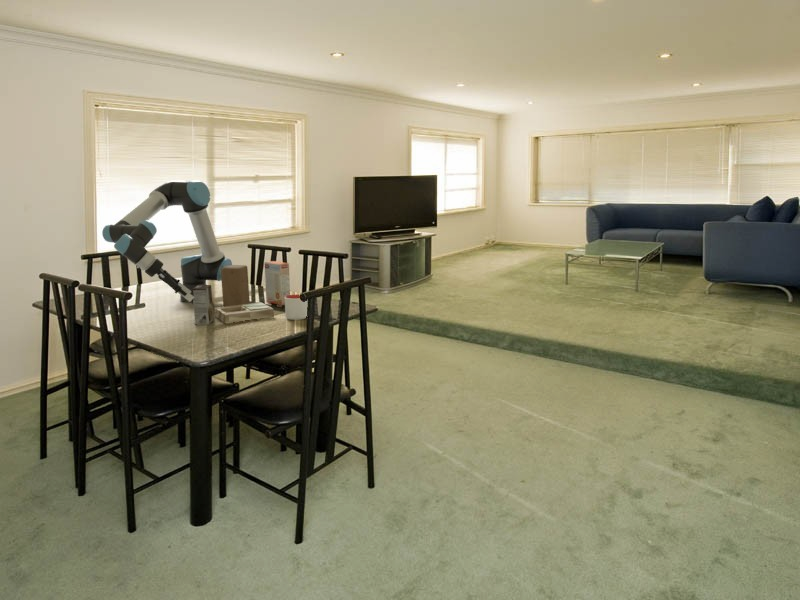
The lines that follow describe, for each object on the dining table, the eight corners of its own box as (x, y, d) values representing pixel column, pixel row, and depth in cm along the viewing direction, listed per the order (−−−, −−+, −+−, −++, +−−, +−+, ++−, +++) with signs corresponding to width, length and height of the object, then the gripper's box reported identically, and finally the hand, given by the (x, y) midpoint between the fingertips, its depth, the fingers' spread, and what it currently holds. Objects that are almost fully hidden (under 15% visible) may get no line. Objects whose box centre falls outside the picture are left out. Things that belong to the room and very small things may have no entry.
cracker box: (291, 304, 295) (289, 262, 290) (281, 305, 291) (279, 264, 286) (276, 300, 305) (273, 260, 300) (266, 301, 300) (263, 261, 296)
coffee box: (199, 319, 263) (196, 284, 260) (214, 319, 264) (211, 284, 261) (194, 324, 254) (191, 288, 251) (209, 324, 255) (206, 288, 252)
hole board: (215, 316, 270) (214, 307, 269) (261, 310, 281) (261, 301, 280) (225, 323, 256) (225, 314, 255) (274, 317, 267) (273, 307, 266)
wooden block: (241, 308, 286) (238, 268, 281) (222, 307, 288) (219, 267, 283) (250, 304, 295) (248, 265, 291) (232, 303, 297) (229, 264, 293)
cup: (296, 314, 272) (295, 293, 270) (312, 317, 266) (311, 295, 264) (280, 318, 264) (279, 297, 262) (297, 321, 258) (296, 299, 256)
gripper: (143, 267, 256) (182, 298, 265) (144, 275, 233) (186, 308, 242) (155, 254, 257) (194, 285, 266) (157, 261, 234) (199, 295, 243)
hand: (190, 296), depth 254 cm, fingers open, 13 cm apart
